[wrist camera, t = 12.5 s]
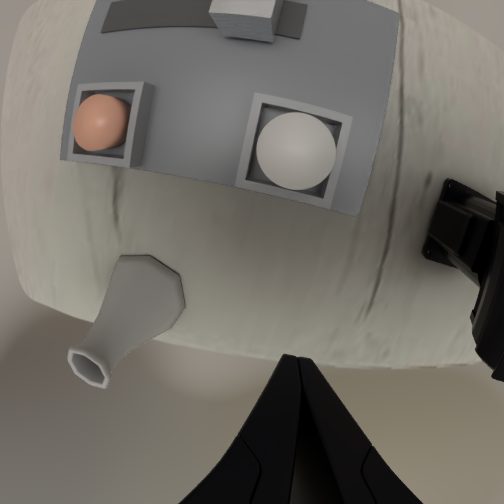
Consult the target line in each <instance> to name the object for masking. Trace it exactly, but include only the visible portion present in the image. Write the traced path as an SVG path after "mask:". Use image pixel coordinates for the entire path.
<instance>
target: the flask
mask: <svg viewBox="0 0 504 504" xmlns="http://www.w3.org/2000/svg"><path fill="white" fill-rule="evenodd" d="M184 308H185V302H184V297H183V292H182V287H181V281H180V276H179V275H178V274H176V273H175V272H173V271H172V270H170V269H169V268H167V267H166V266H164V265H163V264H161V263H160V262H158V261H157V260H155V259H154V258H152V257H151V256H120V258H119V260H118V262H117V265H116V267H115V270H114V272H113V275H112V278H111V280H110V283H109V286H108V288H107V291H106V295H105V298H104V301H103V303H102V306H101V309H100V312H99V314H98V316H97V318H96V320H95V322H94V324H93V325H92V327H91V329H90V331H89V333H88V334H87V336H86V337H85V338H84V339H83V340H82V342H81V343H80V344H79V345H72V346H71V347H70V348H69V352H68V357H67V360H68V362H69V364H70V366H71V367H72V369H73V371H74V373H75V374H76V375H77V376H79V377H80V378H81V379H83V380H84V381H85V382H87V383H89V384H90V385H92V386H96V387H99V388H103V389H106V387H107V386H108V383H109V381H110V379H111V375H112V374H111V371H112V370H113V368H114V367H115V365H116V364H117V363H118V362H120V361H121V360H122V359H123V358H124V357H125V356H126V355H127V354H128V353H129V352H131V351H132V350H134V349H135V348H137V347H139V346H140V345H142V344H144V343H145V342H147V341H149V340H150V339H152V338H154V337H156V336H158V335H160V334H161V333H163V332H165V331H167V330H169V329H170V328H172V326H173V325H174V323H175V322H176V320H177V319H178V317H179V316H180V314H181V313H182V311H183V309H184Z"/></svg>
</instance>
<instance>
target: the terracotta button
mask: <svg viewBox="0 0 504 504" xmlns="http://www.w3.org/2000/svg"><path fill="white" fill-rule="evenodd" d="M130 113H131V107H130V105H129V104H128V103H127V102H126V101H125V100H124V99H121V98H118V97H113V96H107V95H102V94H97V95H93V96H90V97H89V98H87V99H86V100H84V101H83V102H82V104H81V105H80V106H79V108H78V110H77V111H76V114H75V117H74V121H73V133H74V137H75V140H76V142H77V143H78V145H79V146H80V147H82V148H83V149H85V150H88V151H95V150H103V149H112V148H115V147H117V146H119V145H121V144H122V143H123V142H124V141H125V140H126V137H127V131H128V124H129V119H130Z"/></svg>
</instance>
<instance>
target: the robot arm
mask: <svg viewBox="0 0 504 504" xmlns="http://www.w3.org/2000/svg"><path fill="white" fill-rule="evenodd" d="M450 183H451V184H452V186H451V188H450V187H449V185H450ZM495 200H497V203H496V202H494V201H492V200H491V199H489V198H487V197H485V196H484V195H482V194H480V193H478V192H476V191H475V190H473V189H471V188H469V187H467V186H465V185H463V184H461V183H459V182H457V181H455V180H453V179H447V180H446V181H445V183H444V186H443V190H442V193H441V197H440V200H439V202H438V204H437V208H436V211H435V214H434V217H433V220H432V223H431V226H430V229H429V234H428V237H427V239H426V242H425V245H424V247H423V250H422V255H423V256H424V257H425V258H426V259H429V260H432V261H435V262H439V263H442V264H445V265H448V266H451V267H455V268H458V269H460V270H461V271H462V272H463V273H464V274H465V275H466V276H467V277H468V278H470V279H471V280H472V281H473V282H474V283H475V284H476V285H477V286H478V287H479V288H480V291H479V294H478V297H477V301H476V304H475V307H474V309H473V310H472V312H471V315H470V319H471V322H472V325H473V326H472V334H473V337H474V340H475V343H476V348H475V351H476V353H477V354H478V355H479V357H480V358H481V359H482V361H483V362H485V363H486V364H487V365H488V366H489V367H490V368H491V369H492V370H494V371H493V373H492V375H491V377H492V378H493V379H496V380H499V381H502V382H504V192H502V191H496V198H495ZM429 250H430V252H429V254H427V252H428V251H429ZM178 504H423V503H422V502H421V501H420V500H419V499H418V498H417V497H416V496H415V495H414V494H413V493H412V492H411V491H410V490H409V488H407V486H406V485H405V484H404V483H403V482H402V481H401V480H400V479H399V478H398V477H397V475H396V474H395V473H394V472H393V471H392V470H391V469H390V467H389V466H388V465H387V464H386V462H385V461H384V460H383V458H382V457H381V456H380V454H379V453H378V452H377V450H376V449H375V447H374V446H372V443H371V442H370V441H369V439H368V438H367V436H366V435H365V434H364V432H363V431H362V430H361V428H360V427H359V425H358V424H357V422H356V421H355V420H354V418H353V417H352V415H351V414H350V413H349V412H348V410H347V409H346V407H345V406H344V404H343V403H342V401H341V400H340V399H339V397H338V396H337V394H336V393H335V391H334V390H333V389H332V387H331V386H330V384H329V383H328V382H327V380H326V379H325V377H324V376H323V374H322V373H321V372H320V370H319V369H318V367H317V366H316V364H315V363H314V362H313V360H312V359H310V358H305V357H296V356H294V355H288V354H283V355H282V357H281V358H280V360H279V362H278V364H277V366H276V368H275V370H274V372H273V374H272V376H271V377H270V379H269V381H268V383H267V385H266V386H265V388H264V390H263V392H262V394H261V395H260V397H259V399H258V401H257V402H256V404H255V406H254V408H253V409H252V411H251V413H250V415H249V416H248V418H247V419H246V421H245V423H244V424H243V426H242V428H241V429H240V431H239V433H238V435H237V436H236V437H235V439H234V440H233V442H232V444H231V445H230V447H229V449H228V450H227V451H226V453H225V454H224V455H223V457H222V458H221V460H220V461H219V462H218V463H217V465H216V466H215V467H214V468H213V469H212V470H211V471H210V473H209V474H208V475H207V476H206V477H205V478H204V479H203V480H202V481H201V482H200V483H199V484H198V485H197V486H196V487H195V488H194V489H193V490H192V491H191V492H190V493H189V494H188V495H187V496H186V497H185V498H184V499H183V500H182V501H181V502H180V503H178Z"/></svg>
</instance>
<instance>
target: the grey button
mask: <svg viewBox="0 0 504 504" xmlns="http://www.w3.org/2000/svg"><path fill="white" fill-rule="evenodd" d="M335 158H336V146H335V142H334V139H333V136H332V134H331V132H330V131H329V129H328V128H327V127H326V126H325V125H324V124H323V123H322V122H321V121H320V120H318V119H317V118H315V117H313V116H311V115H308V114H305V113H298V112H292V113H286V114H282V115H279V116H277V117H276V118H274V119H272V120H271V121H270V122H269V123H268V124H267V125H266V126H265V127H264V128H263V130H262V131H261V133H260V135H259V138H258V141H257V159H258V162H259V165H260V167H261V169H262V171H263V172H264V173H265V175H266V176H267V177H268V178H269V179H270V180H271V181H272V182H274V183H275V184H277V185H279V186H281V187H284V188H287V189H292V190H303V189H308V188H311V187H313V186H315V185H317V184H319V183H320V182H322V181H323V180H324V179H325V178H326V177H327V176H328V175H329V173H330V172H331V170H332V168H333V166H334V162H335Z"/></svg>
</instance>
